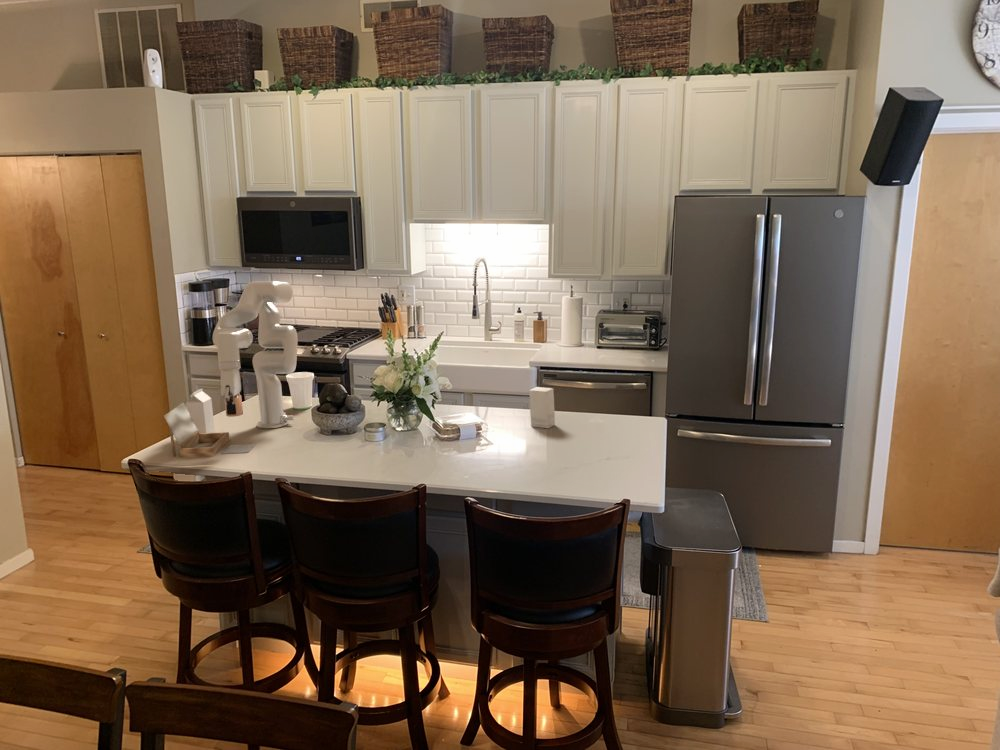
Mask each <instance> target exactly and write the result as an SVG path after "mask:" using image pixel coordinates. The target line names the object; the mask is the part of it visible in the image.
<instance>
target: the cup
mask: <svg viewBox="0 0 1000 750" xmlns="http://www.w3.org/2000/svg"><path fill="white" fill-rule="evenodd" d="M285 378H286V379H285V380H286V381H287V383H288V387H289V391H290V398H291V403H292V407H293V409H294V410H297V411H298V410H308V409H311V408H313V403H312V402H313V380H314V378H315V374H314V372H310V371H309V372H308V371H301V372H300V371H299V372H293V373H290V374H285Z"/></svg>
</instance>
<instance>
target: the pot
mask: <svg viewBox="0 0 1000 750" xmlns="http://www.w3.org/2000/svg"><path fill="white" fill-rule="evenodd" d="M229 396H233V395H231V394H230V395H229ZM223 399H224V406H225V416H226V417H233V418H234V417H239V416H242V415H243V414H244V409H243V401H242V400H243V399H242V394H240V395H236V396H234V404H235V405H236V414H235V415H227V407H226V399H225V397H223ZM231 399H232V398H231Z"/></svg>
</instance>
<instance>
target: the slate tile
mask: <svg viewBox="0 0 1000 750" xmlns="http://www.w3.org/2000/svg"><path fill="white" fill-rule="evenodd" d="M255 446H256V444H255V443H253V444H249V443H248V444H230V445H229V444H228V445H227V446H226V447H225V449H223V451H222V452H220V454H221V455H229V454H232V455H233V454H249V453H250V452H251V450H252V449H253V448H254V447H255Z"/></svg>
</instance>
